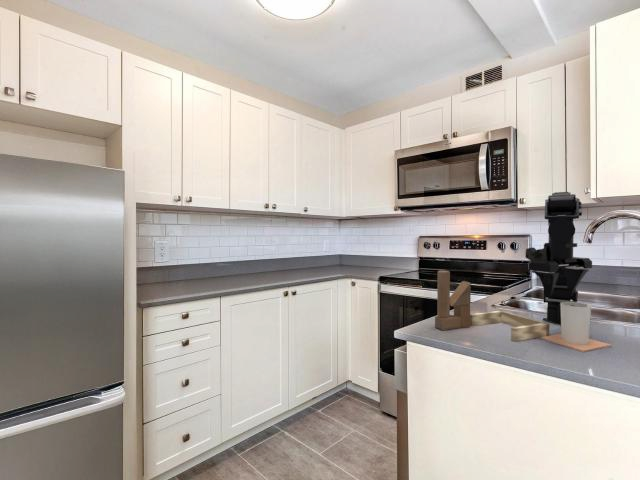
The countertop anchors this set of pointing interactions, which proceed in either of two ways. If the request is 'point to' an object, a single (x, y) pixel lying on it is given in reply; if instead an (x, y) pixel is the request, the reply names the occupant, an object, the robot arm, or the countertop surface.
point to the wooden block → (452, 303)
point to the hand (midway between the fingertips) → (559, 294)
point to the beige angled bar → (513, 324)
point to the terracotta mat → (580, 347)
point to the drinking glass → (575, 322)
